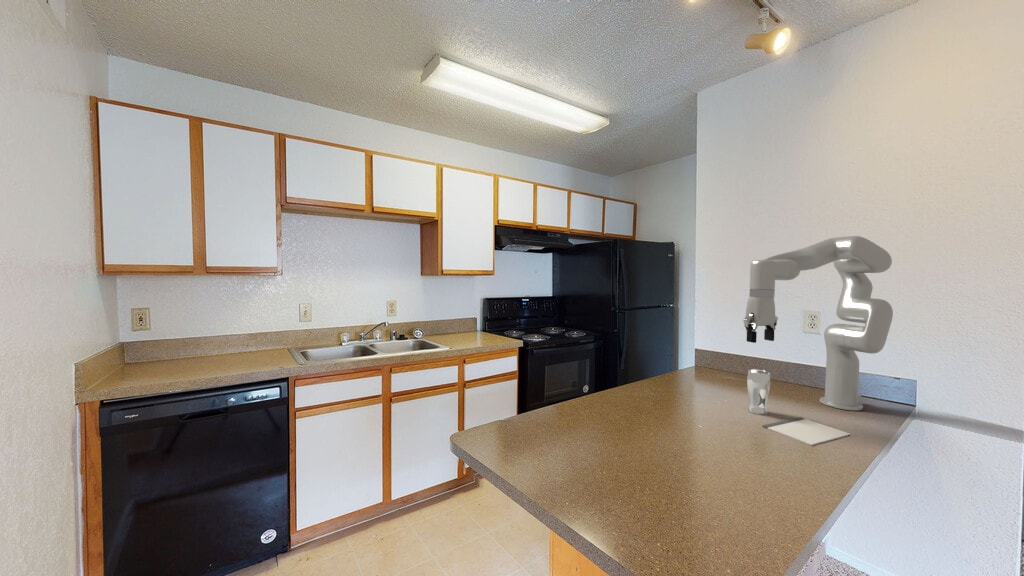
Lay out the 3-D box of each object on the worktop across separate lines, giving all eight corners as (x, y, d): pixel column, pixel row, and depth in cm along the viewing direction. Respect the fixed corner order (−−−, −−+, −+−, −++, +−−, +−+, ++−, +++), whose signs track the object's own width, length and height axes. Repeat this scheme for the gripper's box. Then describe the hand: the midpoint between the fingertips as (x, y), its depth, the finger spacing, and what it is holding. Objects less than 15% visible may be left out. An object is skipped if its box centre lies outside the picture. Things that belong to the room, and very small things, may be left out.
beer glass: (761, 408, 138) (763, 369, 138) (773, 415, 131) (774, 374, 131) (742, 408, 139) (743, 368, 138) (752, 414, 132) (754, 373, 132)
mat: (800, 418, 129) (800, 417, 129) (850, 435, 116) (850, 433, 116) (762, 426, 122) (762, 425, 122) (811, 445, 108) (811, 444, 108)
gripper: (766, 293, 140) (765, 338, 140) (735, 294, 133) (734, 341, 134) (788, 294, 133) (786, 341, 134) (756, 295, 126) (754, 344, 127)
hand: (760, 341), depth 134 cm, fingers open, 9 cm apart
